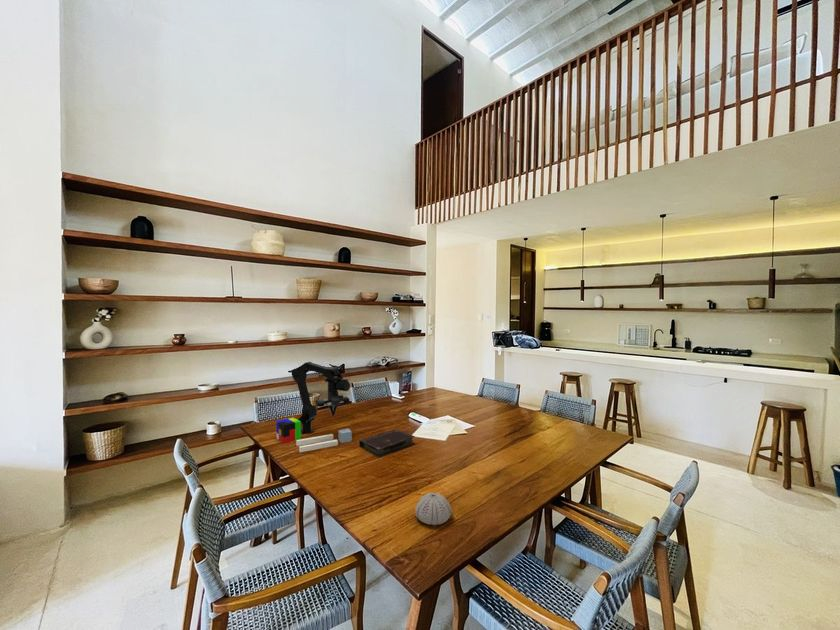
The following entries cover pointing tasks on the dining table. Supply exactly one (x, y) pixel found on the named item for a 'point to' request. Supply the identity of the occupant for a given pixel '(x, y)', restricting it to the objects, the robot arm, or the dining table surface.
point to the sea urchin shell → (433, 509)
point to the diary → (386, 442)
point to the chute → (316, 445)
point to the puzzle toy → (288, 430)
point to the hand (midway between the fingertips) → (332, 415)
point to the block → (345, 435)
